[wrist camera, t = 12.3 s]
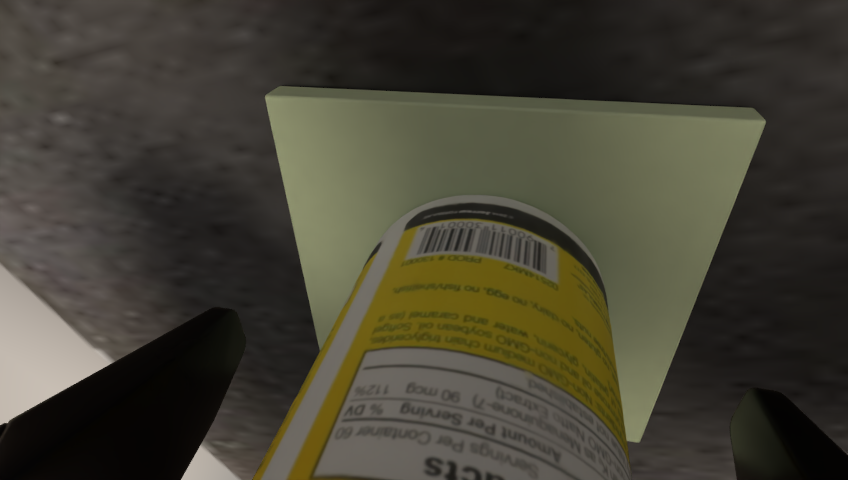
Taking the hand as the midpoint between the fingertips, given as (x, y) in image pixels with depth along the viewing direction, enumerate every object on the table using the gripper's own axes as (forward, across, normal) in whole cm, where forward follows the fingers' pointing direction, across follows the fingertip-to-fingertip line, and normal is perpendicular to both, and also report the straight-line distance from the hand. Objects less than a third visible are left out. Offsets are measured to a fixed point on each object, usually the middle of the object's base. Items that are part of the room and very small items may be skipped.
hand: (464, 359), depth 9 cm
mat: (+2, 0, 0) cm, 2 cm away
